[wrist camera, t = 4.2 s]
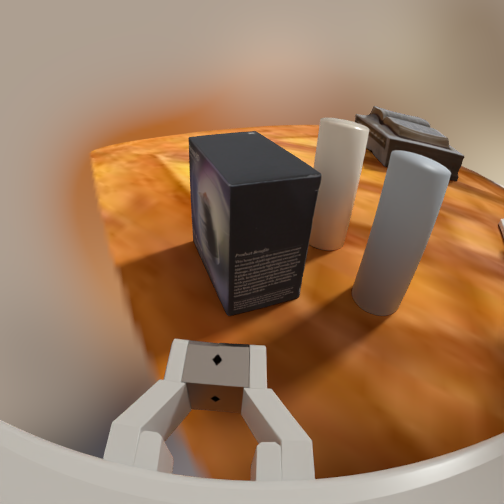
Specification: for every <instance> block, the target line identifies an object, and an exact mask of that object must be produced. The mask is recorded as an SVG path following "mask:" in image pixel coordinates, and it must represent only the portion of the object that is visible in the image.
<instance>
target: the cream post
mask: <svg viewBox="0 0 504 504" xmlns="http://www.w3.org/2000/svg"><path fill="white" fill-rule="evenodd" d="M368 135H369V128H368V127H366V126H364V125H361V124H358V123H355V122H352V121H347V120H342V119H336V118H321V119H320V127H319V134H318V141H317V148H316V155H315V162H314V169H315V170H317V171H318V172H320V173H321V174H322V178H321V184H320V188H319V191H318V196H317V201H316V206H315V211H314V217H313V223H312V229H311V234H310V239H309V245H311V246H313V247H315V248H317V249H321V250H337V249H339V248H341V247H342V246H343V245H344V241H345V237H346V234H347V230H348V226H349V222H350V218H351V214H352V210H353V205H354V201H355V197H356V193H357V188H358V184H359V179H360V174H361V170H362V165H363V160H364V155H365V150H366V145H367V140H368Z"/></svg>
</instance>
